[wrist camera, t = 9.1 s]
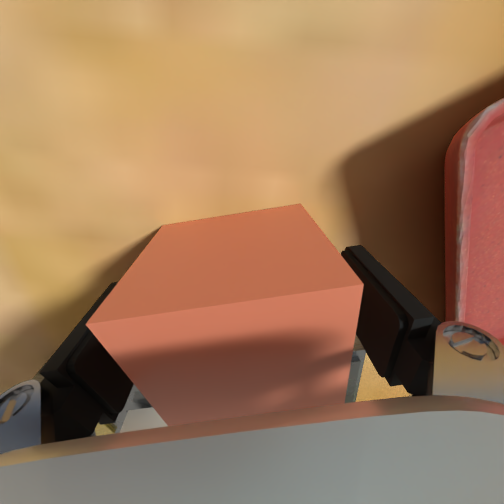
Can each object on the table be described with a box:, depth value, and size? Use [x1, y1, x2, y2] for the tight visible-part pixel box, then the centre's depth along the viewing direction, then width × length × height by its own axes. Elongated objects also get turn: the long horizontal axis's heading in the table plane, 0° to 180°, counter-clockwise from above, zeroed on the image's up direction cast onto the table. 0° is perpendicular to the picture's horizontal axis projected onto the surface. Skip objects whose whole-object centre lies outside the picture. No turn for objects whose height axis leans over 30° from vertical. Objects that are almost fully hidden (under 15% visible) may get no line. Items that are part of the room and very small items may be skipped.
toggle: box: [120, 407, 168, 433], centre depth 12 cm, size 3×3×3 cm
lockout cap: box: [86, 204, 364, 426], centre depth 9 cm, size 6×6×6 cm
